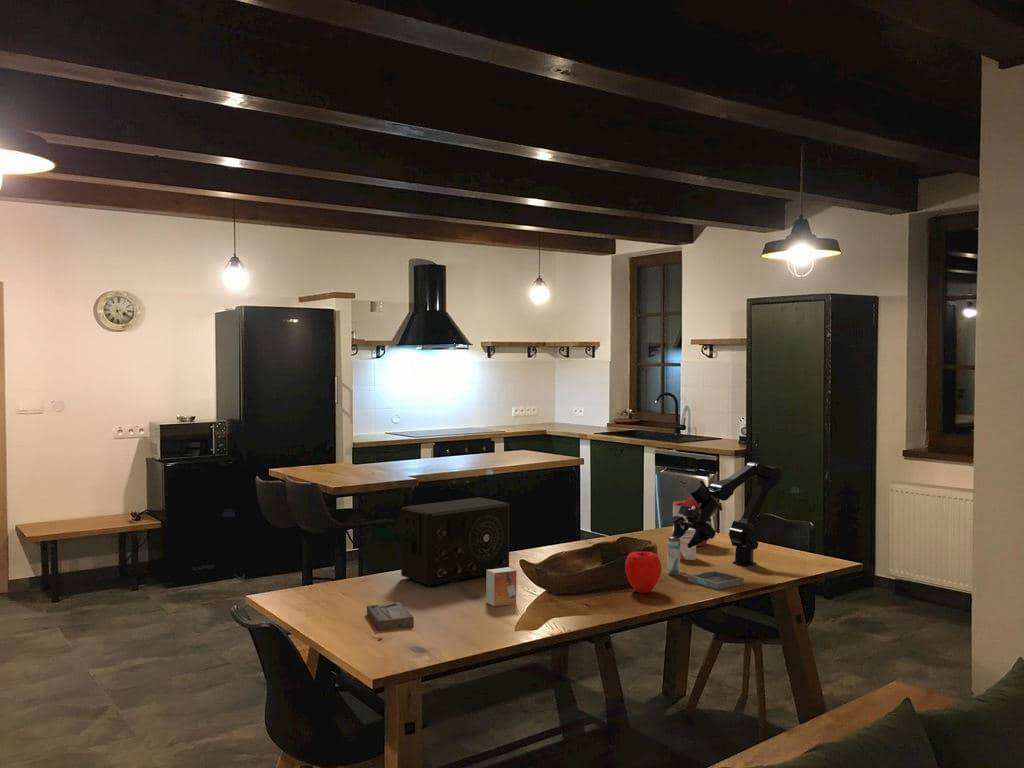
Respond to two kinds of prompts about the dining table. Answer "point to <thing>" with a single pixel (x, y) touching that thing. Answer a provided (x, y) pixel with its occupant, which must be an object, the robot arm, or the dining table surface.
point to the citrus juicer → (689, 503)
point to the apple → (643, 570)
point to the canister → (673, 556)
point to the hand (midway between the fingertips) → (679, 544)
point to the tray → (716, 580)
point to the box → (390, 616)
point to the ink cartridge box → (684, 541)
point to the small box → (501, 586)
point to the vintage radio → (453, 539)
